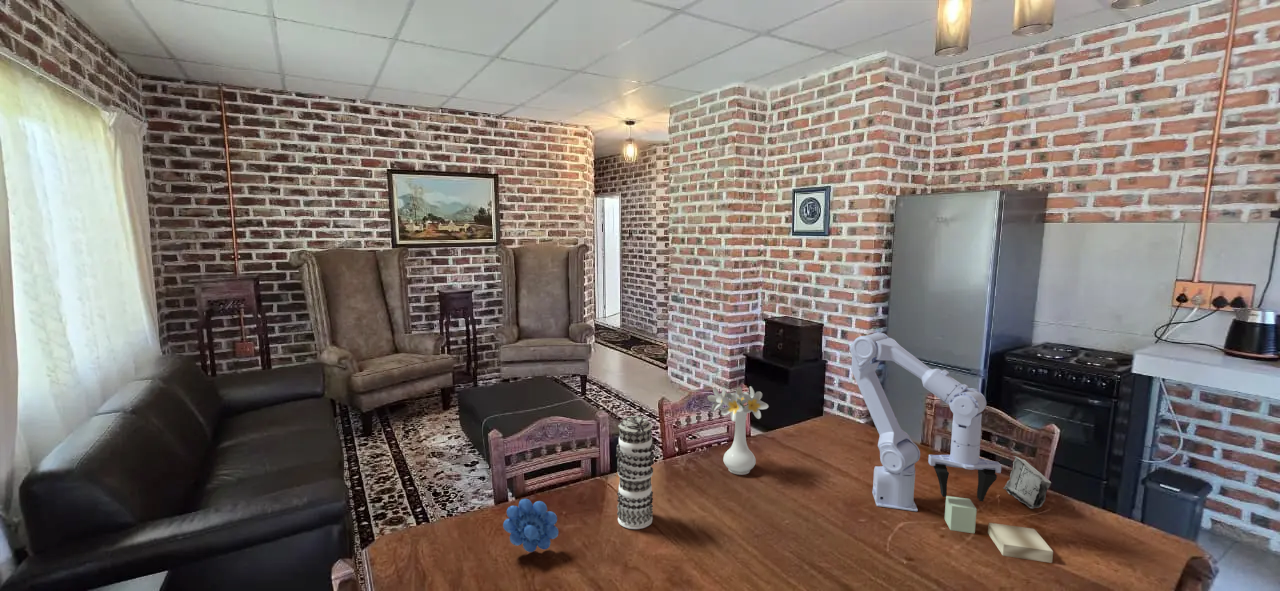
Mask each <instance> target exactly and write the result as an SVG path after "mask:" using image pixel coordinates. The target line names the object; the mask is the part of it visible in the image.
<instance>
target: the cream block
mask: <svg viewBox="0 0 1280 591" xmlns="http://www.w3.org/2000/svg"><path fill="white" fill-rule="evenodd" d="M987 534H988V536H989V537H990V539H991V540H992V542H993V543H994V544H995V546H996V547H997V549H998V551H999V552H1000V554H1001V555H1002V556H1003V557H1009V558H1017V559H1021V560H1022V559H1024V560H1029V561H1035V562H1036V561H1038V562H1041V563H1043V562H1044V563H1051V564H1053V558H1054V557H1053V556H1054V551H1053V549H1052V548H1051V546H1049V545H1048V543H1047V542H1046V541H1045V539H1043V537H1042V536H1041V535H1040V533H1038V532H1037V530H1036V529H1035V528H1032V527H1031V528H1030V527H1023V526H1016V525H1009V524H1001V523H995V522H988V529H987Z"/></svg>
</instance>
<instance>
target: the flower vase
mask: <svg viewBox="0 0 1280 591" xmlns="http://www.w3.org/2000/svg"><path fill="white" fill-rule="evenodd" d="M712 390H713V391H712V392H713V395H712V394H709V395H708V396H707V400H708V401H709V402H710V403H713V404H712V407H711V412H712V413H715V412H716V411H717V410H718V409H719V410H720V411H721V412H720V414H721V416H728V415H729V414H730V420H731V422H734V423H735V424H734V434H733V436H734V438H733V442H732V444H731V445H730V447H729V449H727V451H725V452H724V455H723V458H722V460H723V463H724V465H725V467H726V468H728V472H730V473H731V474H734V475H738V476H741V475H747V474H749V473H750V472H751V470H752V469H753V468H754V467H755V465H756V461H757V460H756V457H755V455H754V453H753V452H752V451H751V450H750V448H749V446H748V443H747V438H746V435H747V434H746V422H747V414H750V413H751V412H752V414H753V415H754V417H755V418H756V419H758V420H760V419H761V418H762V413H761V411H760V410H767V409H768V408H769V407H770V406H769V404H768V403H766V402H764V401H762V400H761V399H762V398H763V393H762V392H761V391H756V392H755V390H754V388H753V386H749V391H744V392H743V388H742V387H741V386H737V388H736V390H735V393H734V392H727V389H726V388H725V386H723V388H722V390H721V391H722V392H719V391H718V389H717V387H716V386H713V389H712ZM745 404H746V405H745ZM723 406H725V407H723Z"/></svg>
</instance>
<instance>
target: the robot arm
mask: <svg viewBox="0 0 1280 591" xmlns="http://www.w3.org/2000/svg"><path fill="white" fill-rule="evenodd" d="M849 352H850V353H851V372H852V375H853V377H854V380H855V383H856V384H857V387H858V389H859V392H860V394H861V395H862V399H863V400H864V403H865V405H866V407H867V409H868V412H869V414H870V417H871V420H872V421H873V423H874V426H875V429H877V433H878V434H879V438H878V442H877V448H878V450H879V458H880V459H879V460H880V464H881V465H880V466H879V465H875V466H874V469H873V482H872V484H873V485H872V491H871V492H872V496H873V499H874V502H875V506H876V507H880V508H881V507H883V508H889V509H895V510H896V509H897V510H903V511H910V512H918V507H917V504H916V503H915V501H914V494H915V480H916V468H915V464H916V463H917V462H919V460H920V458H921V451H920V449H919V447H918V445H917V444H916V443H915V442H914V441H913V440H912V439H911V436H910V435H909V433H907V432H906V431H905V430H903V429H902V428H901V426H900V424H899V422H898V419H897V417H896V415H895V413H894V411H893V408H892V406H891V403H890V402H889V399H888V397H887V395H886V393H885V390H884V389H883V386H882V384H881V382H880V379H879V377H878V375H877V373H876V370H877V369H878V366H879V365H880V363H881V361H892V362H894V363H895V364H897V366H900V367H902V368H903V369H904V370H906V371H907V372H909V373H911V374H912V375H914V376H915V377H917V378H919V379H920V380H921V383H922V386H923V388H924V389H925V390H927V391H928V392H930V393H931V394H933V395H934V396H936V397H937V398H938V399H939V400H941V401H942V402H944V403H945V404H946V405H949V409H950V411H951V412H952V414H953V416H952V425H951V439H950V454H928V458H927V460H928V461H927V462H928V465H929V466H931V467H933V469H934V471H935V474H936V476H937V479H938V485H939V490H940V494H941V496H942V497H943V498H946V496H948V495H947V494H948V489H947V488H948V486H947V485H948V479H949V475H950V473H949V471H948V467H949V468H950V467H952V468H962V469H965V470H969V471H970V470H971V471H972V470H973V471H974V470H976V471H977V489H976V490H977V491H976V497H977V499H978V501H979V502H981V503H982V502H984V500H985V497H986V495H987V492H988V491H989V490H990V488H991V486H992V484H993V485H994V483H995V482H996V480H997V477H998V475H997V474H1002V473H1001V472H1002V464H1001V463H1000V462H999V461H994V460H988V459H985V458H980V450H981V449H980V448H981V438H982V437H981V436H982V416H983V413H982V412H983V411H984V410H985V409H986V407H987V400H986V397H985V395H984V394H983V393H982V392H981V391H980V390H979V389H977V388H972V387H971V388H969V385H967V384H965V383H961V382H960V381H958V380H956V379H955V378H953V377H952V376H951V375H950V372H949V371H948V370H946V369H943V370H942V369H940V368H933V369H932V368H930V367H929V366H928V365H926V364H925V362H922V361H921V360H920V359H918V358H917V356H915V355H913V354H912V353H911V352H909V351H908V350H906V349H905V348H904V347H902V345H900V344H899V343H898V342H897V341H896V340H895V338H892V337H890V336H888V334H886V333H884V332H874V333H871V334H866V335H860V336H858V337H856V338H855V339H854V340H853V342H852V344H851V345H850V347H849ZM996 473H997V474H996Z"/></svg>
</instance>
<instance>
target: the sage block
mask: <svg viewBox="0 0 1280 591" xmlns="http://www.w3.org/2000/svg"><path fill="white" fill-rule="evenodd" d="M944 520H945V523H946V524H947V525H946V526H948V528H949V530H950V531H956V532H960V533H961V532H962V533H968V534H969V533H970V534H975V532H976V520H977V508H976V506H975V504H974V503H973V501H972V500H971V498H967V497H965V498H964V497H958V496H950V495H946V497H945V508H944Z"/></svg>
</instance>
